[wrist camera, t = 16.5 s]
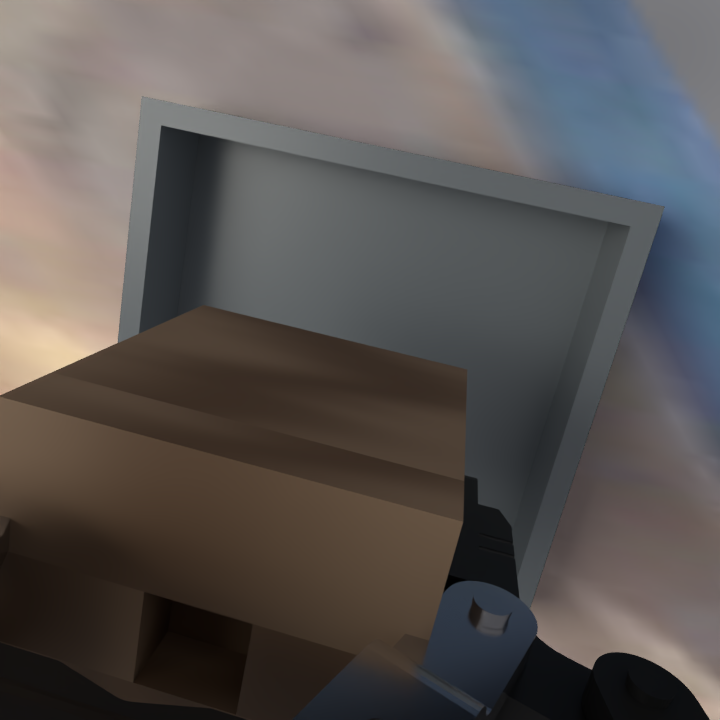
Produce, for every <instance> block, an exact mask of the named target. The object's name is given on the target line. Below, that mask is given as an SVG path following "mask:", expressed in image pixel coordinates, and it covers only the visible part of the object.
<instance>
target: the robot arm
mask: <svg viewBox="0 0 720 720" xmlns="http://www.w3.org/2000/svg"><path fill="white" fill-rule="evenodd" d="M10 519H11V518H8V517H4V516H1V515H0V568H1V566H2V564H3V561H4V559H5V557H6V555H7V553H8V550H9V538H10ZM514 556H515V554H514V545H513V536H512V528H511V525H510V524H509V522H508V521H507V520H506V518H505V517H504V516H503V514H502V513H501V512H500V510H499V509H495V508H492V507H488V506H484V505H480V504H478V479H477V478H474V477H471V476H467V475H464V512H463V524H462V528H461V531H460V535H459V538H458V542H457V545H456V549H455V552H454V556H453V559H452V563H451V566H450V570H449V573H448V577H447V580H446V584H445V587H444V591H443V594H442V598H441V601H440V605H439V608H438V612H437V615H436V619H435V622H434V626H433V629H432V633H431V636H430V640H426V639H422V638H419V637H415V636H412V635H408V634H404V636H403V637H402V638H401V639H400V640H399V641H398V642H397V643H396V644H395V645H394V646H393V647H391V646H390V645H388V644H387V643H385V642H383V641H382V640H380V639H376V640H373V641H372V642H370V643H369V644H368V645H367V646H366V647H365V648H364V649H363V650H362V651H361V652H360V653H359V654H358V655H357V656H356V657H355V658H354V659H353V660H352V661H351V662H350V663H349V664H348V665H347V666H346V667H345V668H344V669H343V670H342V671H341V672H340V673H339V674H338V675H337V676H336V677H335V678H334V679H333V680H332V681H331V682H330V683H329V684H328V685H327V686H325V687H324V688H323V689H322V690H321V691H320V692H319V693H318V694H317V695H316V696H315V697H314V698H313V699H312V700H311V701H310V702H309V703H308V704H307V705H306V706H305V707H304V708H303V709H302V710H301V711H300V712H299V713H298V714H297V715H296V716H295V717H294V718H293V719H292V720H710V719H709V718H708V716H707V715H706V713H705V712H704V710H703V708H702V707H701V705H700V704H699V702H698V701H697V699H696V698H695V696H694V695H693V694H692V692H691V691H690V690H689V689H688V688H687V687H686V686H685V685H684V684H683V683H682V682H681V681H680V680H679V679H678V678H676V677H675V676H674V675H672V674H671V673H670V672H668V671H667V670H665V669H664V668H662V667H660V666H659V665H657V664H655V663H653V662H651V661H649V660H646V659H644V658H642V657H638V656H635V655H632V654H627V653H619V652H615V653H607V654H604V655H602V656H600V657H599V658H598V659H597V660H596V662H595V664H594V666H593V669H592V670H590V669H588V668H586V667H584V666H583V665H581V664H579V663H577V662H575V661H573V660H571V659H569V658H567V657H565V656H563V655H562V654H560V653H558V652H556V651H555V650H553V649H552V648H550V647H549V646H548V645H546V644H545V643H544V642H543V641H541V640H540V639H539V638H538V637H537V636H536V634H537V629H538V626H537V621H536V619H535V616H534V615H533V613H532V612H531V610H530V609H529V608H528V607H527V605H526V604H525V603H523V602H522V601H521V600H520V597H519V588H518V580H517V571H516V562H515V559H514ZM0 720H247V719H243V718H240V717H237V716H234V715H231V714H227V713H224V712H221V711H218V710H215V709H212V708H201V707H189V706H177V705H165V704H153V703H141V702H130V701H125V700H122V699H120V698H118V697H116V696H114V695H113V694H111V693H110V692H108V691H106V690H105V689H103V688H102V687H100V686H98V685H97V684H95V683H94V682H92V681H90V680H89V679H87V678H86V677H84V676H83V675H81V674H79V673H78V672H76V671H75V670H73V669H71V668H70V667H68V666H67V665H65V664H64V663H62V662H60V661H58V660H55V659H52V658H49V657H45V656H42V655H39V654H36V653H33V652H29V651H26V650H23V649H20V648H17V647H13V646H10V645H7V644H4V643H1V642H0Z"/></svg>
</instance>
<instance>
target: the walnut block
mask: <svg viewBox="0 0 720 720" xmlns="http://www.w3.org/2000/svg"><path fill="white" fill-rule="evenodd" d="M466 400H467V369H463V368H459V367H455V366H451V365H447V364H443V363H439V362H435V361H431V360H426V359H422V358H418V357H414V356H410V355H406V354H402V353H398V352H394V351H390V350H386V349H382V348H377V347H373V346H369V345H365V344H361V343H357V342H353V341H349V340H345V339H341V338H337V337H332V336H328V335H324V334H320V333H316V332H312V331H308V330H304V329H300V328H296V327H292V326H288V325H283V324H279V323H275V322H271V321H267V320H263V319H259V318H255V317H251V316H247V315H243V314H239V313H234V312H230V311H226V310H222V309H218V308H214V307H210V306H206V305H202V306H200V307H198V308H196V309H193V310H191V311H189V312H187V313H184V314H182V315H180V316H178V317H175V318H173V319H171V320H169V321H166V322H164V323H162V324H160V325H157V326H155V327H153V328H151V329H148V330H146V331H144V332H142V333H139V334H137V335H135V336H133V337H130V338H128V339H126V340H124V341H121V342H119V343H117V344H115V345H113V346H110V347H108V348H106V349H104V350H101V351H99V352H97V353H95V354H92V355H90V356H88V357H86V358H83V359H81V360H79V361H77V362H74V363H72V364H70V365H68V366H65V367H63V368H61V369H59V370H56V371H54V372H52V373H50V374H47V375H45V376H43V377H41V378H38V379H36V380H34V381H32V382H29V383H27V384H25V385H23V386H21V387H18V388H16V389H14V390H12V391H9V392H7V393H5V394H3V395H0V515H1V516H4V517H8V518H11V519H10V538H9V550H8V553H7V555H6V557H5V559H4V561H3V564H2V566H1V568H0V642H1V643H4V644H7V645H10V646H13V647H17V648H20V649H23V650H26V651H29V652H33V653H36V654H39V655H42V656H45V657H49V658H52V659H55V660H58V661H60V662H62V663H64V664H65V665H67V666H68V667H70V668H71V669H73V670H75V671H76V672H78V673H79V674H81V675H83V676H84V677H86V678H87V679H89V680H90V681H92V682H94V683H95V684H97V685H98V686H100V687H102V688H103V689H105V690H106V691H108V692H110V693H111V694H113V695H114V696H116V697H118V698H120V699H122V700H125V701H130V702H141V703H153V704H165V705H177V706H189V707H201V708H212V709H215V710H218V711H221V712H224V713H227V714H231V715H234V716H237V717H240V718H243V719H247V720H292V719H293V718H294V717H295V716H296V715H297V714H298V713H299V712H300V711H301V710H302V709H303V708H304V707H305V706H306V705H307V704H308V703H309V702H310V701H311V700H312V699H313V698H314V697H315V696H316V695H317V694H318V693H319V692H320V691H321V690H322V689H323V688H324V687H325V686H327V685H328V684H329V683H330V682H331V681H332V680H333V679H334V678H335V677H336V676H337V675H338V674H339V673H340V672H341V671H342V670H343V669H344V668H345V667H346V666H347V665H348V664H349V663H350V662H351V661H352V660H353V659H354V658H355V657H356V656H357V655H358V654H359V653H360V652H361V651H362V650H363V649H364V648H365V647H366V646H367V645H368V644H369V643H370V642H372V641H373V640H376V639H380V640H382V641H383V642H385V643H387V644H388V645H390V646H391V647H393V646H394V645H395V644H396V643H397V642H398V641H399V640H400V639H401V638H402V637H403V636H404V634H408V635H412V636H415V637H419V638H422V639H426V640H430V636H431V633H432V629H433V626H434V622H435V619H436V615H437V612H438V608H439V605H440V601H441V598H442V594H443V591H444V587H445V584H446V580H447V577H448V573H449V570H450V566H451V563H452V559H453V556H454V552H455V549H456V545H457V542H458V538H459V535H460V531H461V528H462V524H463V512H464V475H465V437H466Z"/></svg>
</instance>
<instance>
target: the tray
mask: <svg viewBox="0 0 720 720" xmlns="http://www.w3.org/2000/svg"><path fill="white" fill-rule="evenodd" d="M663 210H664V206H659V205H655V204H650V203H645V202H640V201H636V200H631V199H626V198H621V197H617V196H612V195H607V194H602V193H598V192H593V191H588V190H584V189H579V188H574V187H569V186H565V185H560V184H555V183H550V182H546V181H541V180H536V179H531V178H527V177H522V176H517V175H513V174H508V173H503V172H498V171H494V170H489V169H484V168H479V167H475V166H470V165H465V164H460V163H456V162H451V161H446V160H442V159H437V158H432V157H427V156H423V155H418V154H413V153H408V152H404V151H399V150H394V149H389V148H385V147H380V146H375V145H371V144H366V143H361V142H356V141H352V140H347V139H342V138H337V137H333V136H328V135H323V134H318V133H314V132H309V131H304V130H300V129H295V128H290V127H285V126H281V125H276V124H271V123H266V122H262V121H257V120H252V119H247V118H243V117H238V116H233V115H229V114H224V113H219V112H214V111H210V110H205V109H200V108H195V107H191V106H186V105H181V104H176V103H172V102H167V101H162V100H158V99H153V98H148V97H143V96H142V100H141V110H140V120H139V130H138V140H137V151H136V161H135V171H134V181H133V191H132V202H131V212H130V222H129V232H128V242H127V253H126V263H125V273H124V283H123V293H122V304H121V314H120V324H119V334H118V343H119V342H121V341H124V340H126V339H128V338H130V337H133V336H135V335H137V334H139V333H142V332H144V331H146V330H148V329H151V328H153V327H155V326H157V325H160V324H162V323H164V322H166V321H169V320H171V319H173V318H175V317H178V316H180V315H182V314H184V313H187V312H189V311H191V310H193V309H196V308H198V307H200V306H202V305H206V306H210V307H214V308H218V309H222V310H226V311H230V312H234V313H239V314H243V315H247V316H251V317H255V318H259V319H263V320H267V321H271V322H275V323H279V324H283V325H288V326H292V327H296V328H300V329H304V330H308V331H312V332H316V333H320V334H324V335H328V336H332V337H337V338H341V339H345V340H349V341H353V342H357V343H361V344H365V345H369V346H373V347H377V348H382V349H386V350H390V351H394V352H398V353H402V354H406V355H410V356H414V357H418V358H422V359H426V360H431V361H435V362H439V363H443V364H447V365H451V366H455V367H459V368H463V369H467V400H466V437H465V475H467V476H471V477H474V478H477V479H478V504H480V505H484V506H488V507H492V508H495V509H499V510H500V512H501V513H502V514H503V516H504V517H505V518H506V520H507V521H508V522H509V524H510V525H511V528H512V536H513V545H514V554H515V556H514V559H515V562H516V571H517V580H518V588H519V597H520V600H521V601H522V602H523V603H525V604H526V605H527V607H528V608H529V609H530V607H531V604H532V601H533V598H534V595H535V592H536V589H537V586H538V583H539V580H540V577H541V574H542V571H543V568H544V565H545V562H546V559H547V556H548V553H549V550H550V547H551V544H552V541H553V538H554V535H555V532H556V529H557V526H558V523H559V520H560V517H561V514H562V511H563V508H564V505H565V502H566V499H567V496H568V493H569V490H570V487H571V484H572V481H573V478H574V475H575V472H576V469H577V467H578V464H579V461H580V458H581V455H582V452H583V449H584V446H585V443H586V440H587V437H588V434H589V431H590V428H591V425H592V422H593V419H594V416H595V413H596V410H597V407H598V404H599V401H600V398H601V395H602V392H603V389H604V386H605V383H606V380H607V377H608V374H609V371H610V368H611V365H612V362H613V359H614V356H615V353H616V350H617V347H618V344H619V341H620V338H621V335H622V332H623V329H624V326H625V323H626V320H627V317H628V314H629V311H630V308H631V305H632V302H633V300H634V297H635V294H636V291H637V288H638V285H639V282H640V279H641V276H642V273H643V270H644V267H645V264H646V261H647V258H648V255H649V252H650V249H651V246H652V243H653V240H654V237H655V234H656V231H657V228H658V225H659V222H660V219H661V216H662V213H663Z"/></svg>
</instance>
